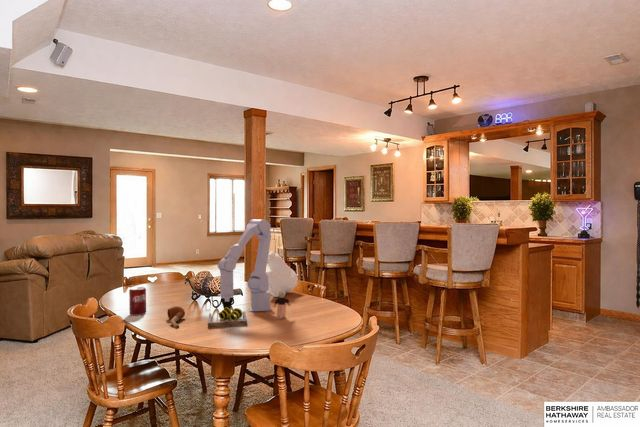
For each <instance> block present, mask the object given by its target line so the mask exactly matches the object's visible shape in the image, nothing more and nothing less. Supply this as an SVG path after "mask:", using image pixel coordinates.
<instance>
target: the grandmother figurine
mask: <svg viewBox="0 0 640 427" xmlns="http://www.w3.org/2000/svg"><path fill="white" fill-rule="evenodd" d="M286 294H287V293H285V291H283V290H280V291H279V292H278V295H279V296H278V297H279V298H278V297H277V299H275V301H274V303H273V306H272V307H273V308H276V306H277V309H276V311H277V312H276V317H275V319H276V320H281V319H284V320H285V319H287V317H286V311H287V309H286V308H287V307H286V304H287V305H288V306H291V303H290V301H289V300H290V299H287V298H286V297H285V296H286Z"/></svg>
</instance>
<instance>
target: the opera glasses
mask: <svg viewBox="0 0 640 427" xmlns="http://www.w3.org/2000/svg"><path fill="white" fill-rule="evenodd" d="M218 318H219V319H220V320H222V321H223V320H225V319H229V320H230V321H238V320H240V319H241V318H243V310H242V309H241V308H239V307H235V308H233V309H232V310H231V309H229V308H228V307H225V309H224V308H223V309H222V310H221V311H220V312H219V313H218Z"/></svg>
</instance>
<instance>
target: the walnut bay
mask: <svg viewBox="0 0 640 427" xmlns="http://www.w3.org/2000/svg"><path fill="white" fill-rule="evenodd" d="M242 313H243V314H242V318H243V319H241V320H240V319H238V320H235V321H232V320H226V321H223V320H222V321H213V322H212V313H208V319H207V328H208V329H210V328H211V329H212V328H227V327H242V326H243V327H244V326H248V318H247V314H246V311H242Z"/></svg>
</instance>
